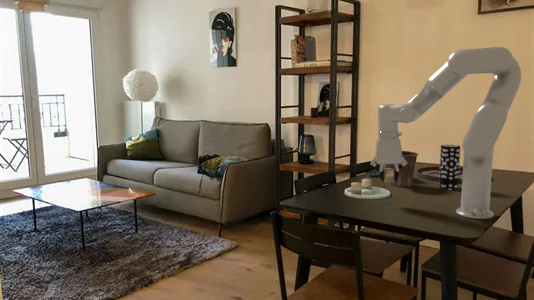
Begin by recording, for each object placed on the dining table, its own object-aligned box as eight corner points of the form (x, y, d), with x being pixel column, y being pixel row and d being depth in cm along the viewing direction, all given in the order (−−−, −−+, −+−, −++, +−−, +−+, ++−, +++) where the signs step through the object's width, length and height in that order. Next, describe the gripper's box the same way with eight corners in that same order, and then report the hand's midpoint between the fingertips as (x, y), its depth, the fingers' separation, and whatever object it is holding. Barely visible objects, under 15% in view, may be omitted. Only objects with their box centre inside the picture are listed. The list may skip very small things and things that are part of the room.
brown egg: (397, 181, 173) (396, 169, 172) (389, 182, 170) (389, 170, 170) (388, 180, 177) (388, 168, 176) (381, 181, 174) (380, 169, 174)
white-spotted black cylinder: (459, 190, 198) (462, 147, 195) (440, 189, 199) (442, 146, 197) (455, 186, 206) (458, 144, 203) (437, 185, 207) (439, 144, 205)
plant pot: (423, 185, 208) (424, 152, 206) (405, 191, 197) (406, 156, 195) (393, 180, 220) (394, 149, 218) (375, 185, 209) (375, 152, 207)
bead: (371, 192, 192) (372, 181, 191) (361, 191, 193) (361, 180, 192) (371, 189, 196) (371, 179, 195) (361, 189, 197) (361, 178, 196)
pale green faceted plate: (391, 202, 178) (391, 196, 178) (344, 200, 182) (344, 194, 181) (387, 191, 197) (387, 186, 196) (344, 190, 200) (345, 184, 200)
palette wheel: (417, 181, 219) (417, 176, 219) (416, 169, 252) (417, 165, 252) (494, 185, 208) (494, 180, 208) (483, 172, 241) (483, 168, 241)
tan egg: (363, 195, 186) (363, 184, 185) (354, 196, 184) (354, 184, 184) (357, 193, 190) (358, 182, 189) (349, 194, 189) (349, 182, 188)
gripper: (409, 134, 173) (409, 179, 175) (366, 135, 177) (367, 179, 179) (411, 135, 166) (412, 182, 168) (366, 137, 169) (367, 183, 171)
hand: (389, 180), depth 173 cm, fingers closed on brown egg, 4 cm apart
